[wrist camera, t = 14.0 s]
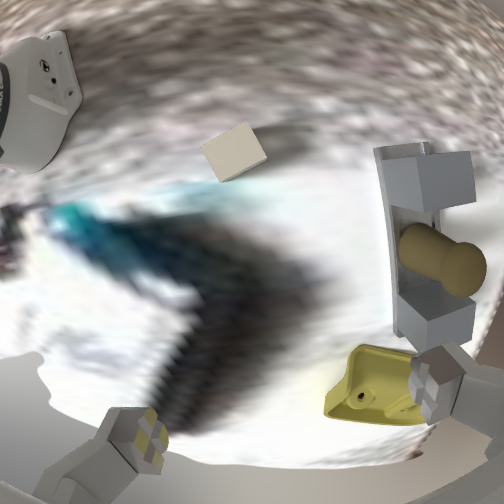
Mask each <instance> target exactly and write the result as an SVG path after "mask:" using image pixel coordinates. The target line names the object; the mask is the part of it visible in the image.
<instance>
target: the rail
mask: <svg viewBox="0 0 504 504" xmlns="http://www.w3.org/2000/svg"><path fill="white" fill-rule="evenodd" d="M373 151H374V156H375V160H376V165H377V170H378V176H379V181H380V187H381V193H382V199H383V206H384V212H385V220H386V227H387V236H388V245H389V255H390V266H391V280H392V299H393V332H394V333H395V335H396V336H397V337H399V338H401V337H404V335H403V333H402V332H401V331H400V330H399V329H398V328H397V293H398V294H401V293H404V291H406V290H410V289H413V288H416V287H420V286H423V285H426V284H429V283H432V282H435V281H436V280H433V279H431V278H428V277H425V276H422V275H420V274H417V273H414V272H411V271H409V270H408V269H406V268H405V267H404V266H403V265H402V264H401V261H400V258H399V252H398V248H399V242H400V239H401V237H402V235H403V233H404V232H405V231H406V230H407V229H408V228H409V227H410V226H412V225H414V224H417V223H425V224H428V225H429V226H431V227H433V228H434V229H436V230H437V231H439V232H441V231H440V219H439V210H435V211H430V212H425V213H423V212H419V211H415V210H410V209H406V208H402V207H398V206H393V205H389V204H388V199H387V193H386V187H385V181H384V175H383V170H382V165H381V161H382V160H389V159H396V158H403V157H411V156H419V155H428V154H430V149H429V144H428V142H422V143H413V144H403V145H394V146H385V147H378V148H374V149H373ZM436 282H439V281H436Z"/></svg>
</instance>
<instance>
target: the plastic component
mask: <svg viewBox="0 0 504 504" xmlns="http://www.w3.org/2000/svg"><path fill="white" fill-rule="evenodd" d="M411 358H412V356H411V355H409V354H405V353H400V352H395V351H390V350H386V349H381V348H377V347H372V346H368V345H361V346H358V347H356V348H355V349H354V350H353V351H352V352H351V354H350V355H349V358H348V362H347V370H346V373H345V375H344V378H343V379H342V380H341V381H340V382H339V383H338V384H337V385H336V386H335V387H334V388H333V389H332V390H331V391H330V392H328V393H327V395H326V396H325V405H324V415H325V416H326V417H328V418H332V419H338V420H345V421H353V422H361V423H370V424H380V425H392V426H411V425H418V424H422V423H426V421H425V420H424V418H423V416H422V415H421V413H420V410H421V405H418V404H416V403H414V401H413V399H412V398H411V395H410V393H409V387H408V379H409V376H410V374H411V373H412V371H413V370H412V369H411V367H410V362H411ZM360 393H364V396H363V397H362V398H358V396H359V394H360Z"/></svg>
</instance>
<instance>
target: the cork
mask: <svg viewBox="0 0 504 504" xmlns="http://www.w3.org/2000/svg"><path fill="white" fill-rule="evenodd" d="M398 252H399V258H400V261H401V264H402V265H403V266H404V267H405V268H406V269H408V270H409V271H411V272H414V273H417V274H420V275H422V276H425V277H428V278H431V279H433V280H436V281H439V282H441V283H442V285H443V286H444V288H445V289H446V290H447V292H449V293H450V294H451V295H453V296H455V297H459V298H465V297H468V296H471V295H473V294H474V293H476V292H477V291H478V290H479V288H480V287H481V286H482V284H483V281H484V279H485V276H486V269H487V264H486V259H485V257H484V255H483V253H482V251H481V250H480V249H479V248H478V247H477V246H475V245H474V244H471V243H466V242H461V243H456V242H455V241H453V240H452V239H450V238H449V237H447V236H445V235H444V234H442V233H441V232H439V231H437V230H436V229H434V228H433V227H431V226H429V225H428V224H425V223H417V224H414V225H412V226H410V227H409V228H408V229H407V230H406V231H405V232H404V233H403V235H402V237H401V239H400V242H399V248H398Z"/></svg>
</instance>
